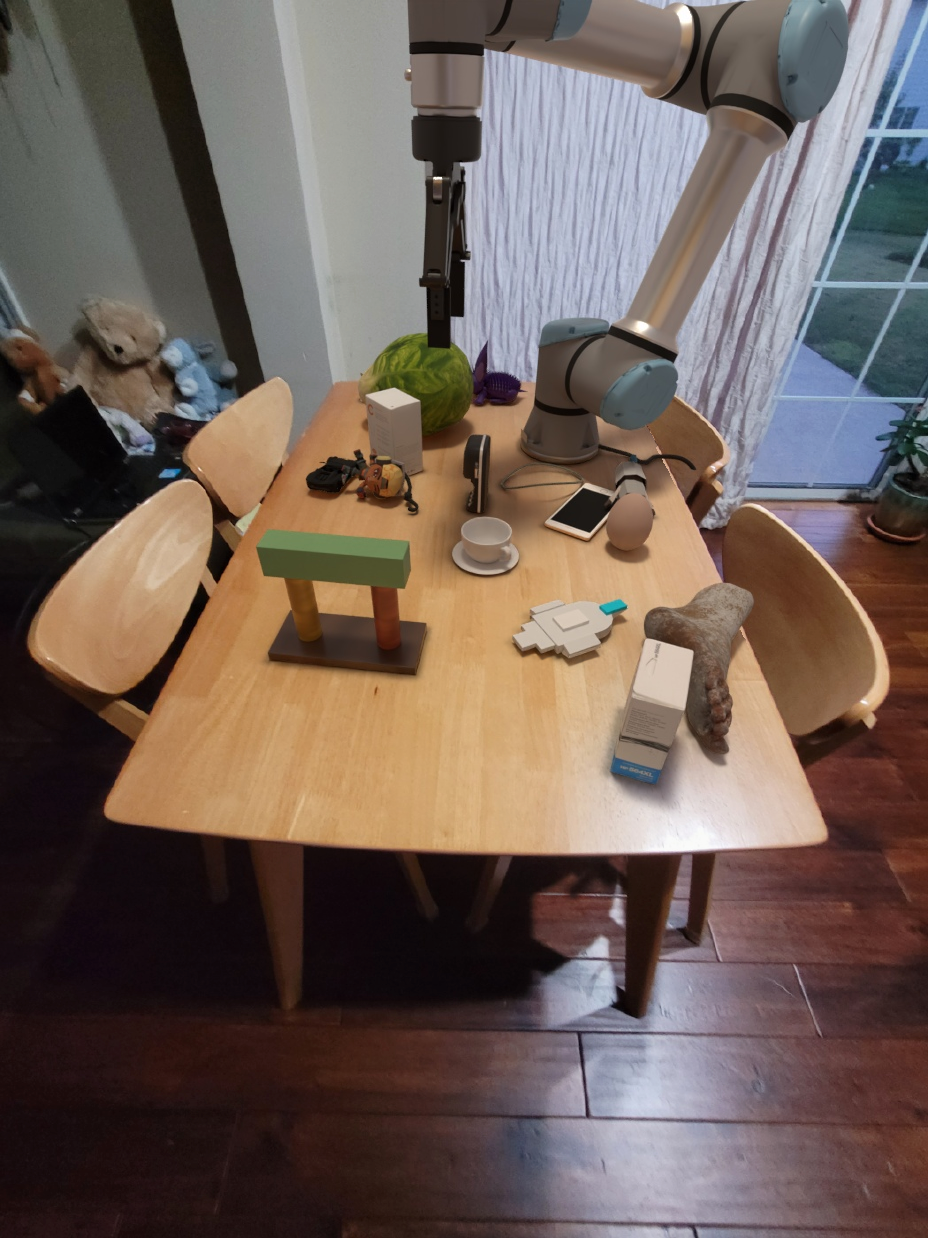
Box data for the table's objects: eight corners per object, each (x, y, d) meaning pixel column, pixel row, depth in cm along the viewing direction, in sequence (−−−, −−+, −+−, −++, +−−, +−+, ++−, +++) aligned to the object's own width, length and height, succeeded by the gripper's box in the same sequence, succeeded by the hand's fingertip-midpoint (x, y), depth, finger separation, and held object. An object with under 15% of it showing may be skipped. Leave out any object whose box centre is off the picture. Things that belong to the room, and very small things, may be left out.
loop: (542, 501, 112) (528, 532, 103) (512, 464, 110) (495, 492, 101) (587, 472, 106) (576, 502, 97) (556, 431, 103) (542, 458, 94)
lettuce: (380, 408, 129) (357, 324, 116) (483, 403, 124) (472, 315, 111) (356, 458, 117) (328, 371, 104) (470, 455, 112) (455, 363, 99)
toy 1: (335, 447, 94) (399, 496, 89) (376, 428, 99) (439, 473, 94) (338, 485, 100) (397, 532, 95) (376, 465, 105) (435, 509, 100)
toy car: (362, 465, 108) (360, 444, 105) (356, 498, 99) (353, 476, 96) (316, 465, 107) (312, 444, 104) (305, 499, 98) (301, 476, 96)
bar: (411, 570, 66) (409, 540, 63) (405, 589, 63) (403, 559, 61) (274, 558, 67) (267, 528, 64) (263, 576, 65) (255, 546, 62)
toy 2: (655, 541, 94) (644, 485, 103) (671, 511, 89) (659, 455, 99) (603, 531, 93) (597, 476, 103) (617, 500, 88) (610, 446, 98)
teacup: (438, 553, 87) (438, 527, 84) (488, 530, 92) (489, 504, 89) (482, 586, 82) (483, 559, 79) (532, 559, 87) (535, 533, 84)
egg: (652, 544, 90) (666, 492, 84) (635, 565, 86) (650, 511, 80) (612, 530, 93) (623, 478, 87) (594, 550, 88) (605, 497, 82)
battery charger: (466, 492, 101) (467, 429, 94) (488, 494, 101) (491, 430, 93) (461, 513, 96) (461, 448, 88) (483, 515, 96) (486, 450, 88)
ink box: (656, 787, 58) (688, 712, 50) (606, 771, 60) (630, 696, 52) (666, 724, 64) (696, 648, 56) (621, 710, 66) (645, 634, 58)
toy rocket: (499, 614, 75) (499, 628, 76) (537, 661, 68) (536, 675, 69) (602, 580, 80) (601, 594, 81) (648, 621, 73) (645, 635, 74)
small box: (423, 471, 107) (421, 400, 98) (395, 481, 104) (390, 409, 95) (398, 455, 111) (394, 386, 103) (370, 464, 108) (363, 394, 100)
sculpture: (730, 721, 55) (871, 695, 57) (637, 576, 70) (750, 560, 72) (706, 768, 61) (834, 743, 63) (625, 625, 76) (730, 609, 78)
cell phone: (626, 498, 100) (627, 495, 100) (588, 541, 90) (588, 538, 90) (585, 485, 103) (586, 482, 103) (543, 525, 93) (543, 522, 93)
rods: (426, 629, 75) (424, 558, 68) (415, 674, 69) (411, 603, 62) (291, 616, 76) (274, 546, 69) (269, 659, 70) (247, 587, 63)
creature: (448, 393, 135) (448, 337, 127) (524, 391, 137) (529, 336, 128) (451, 408, 128) (451, 350, 120) (531, 406, 130) (537, 349, 122)
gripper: (430, 110, 70) (433, 303, 85) (385, 114, 52) (399, 360, 66) (492, 111, 70) (485, 306, 84) (468, 116, 51) (464, 364, 66)
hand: (447, 330), depth 75 cm, fingers open, 13 cm apart
